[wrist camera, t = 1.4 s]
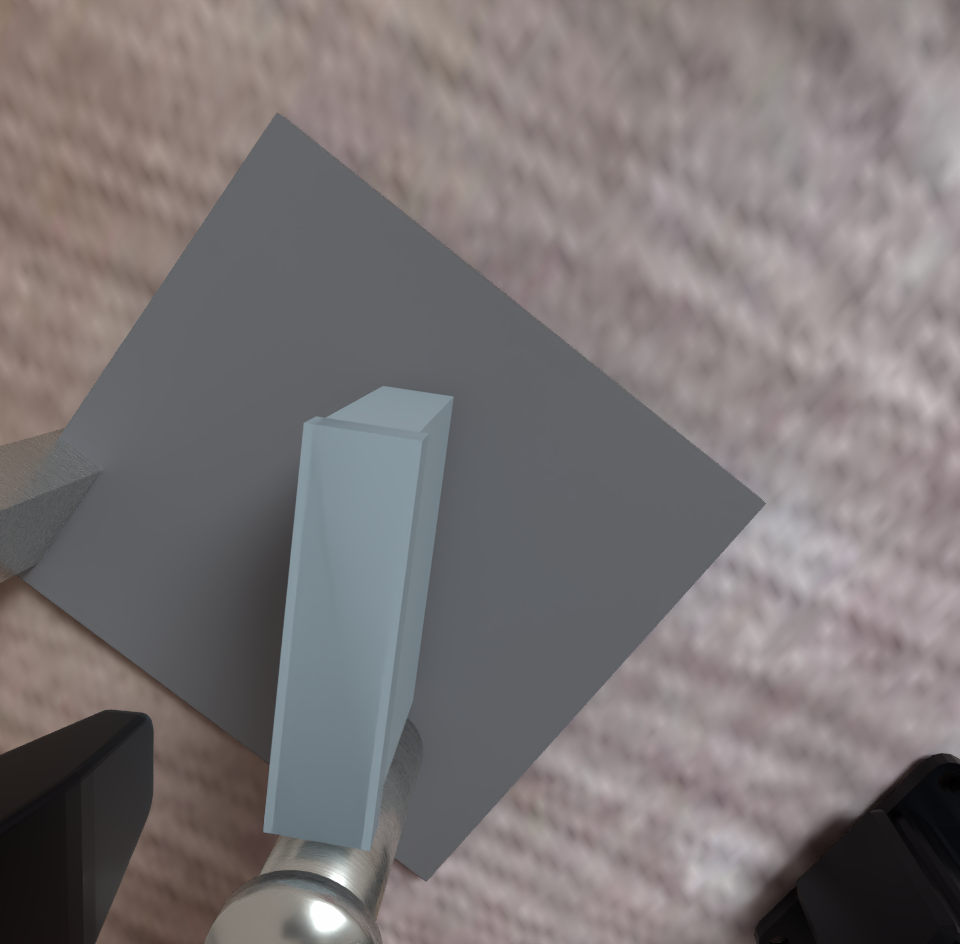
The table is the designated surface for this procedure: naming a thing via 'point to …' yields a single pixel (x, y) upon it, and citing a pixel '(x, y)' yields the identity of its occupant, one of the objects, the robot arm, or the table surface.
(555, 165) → the table surface
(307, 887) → the hinge post
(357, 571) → the gate
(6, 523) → the latch post
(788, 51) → the table surface
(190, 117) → the table surface
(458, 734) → the mat
